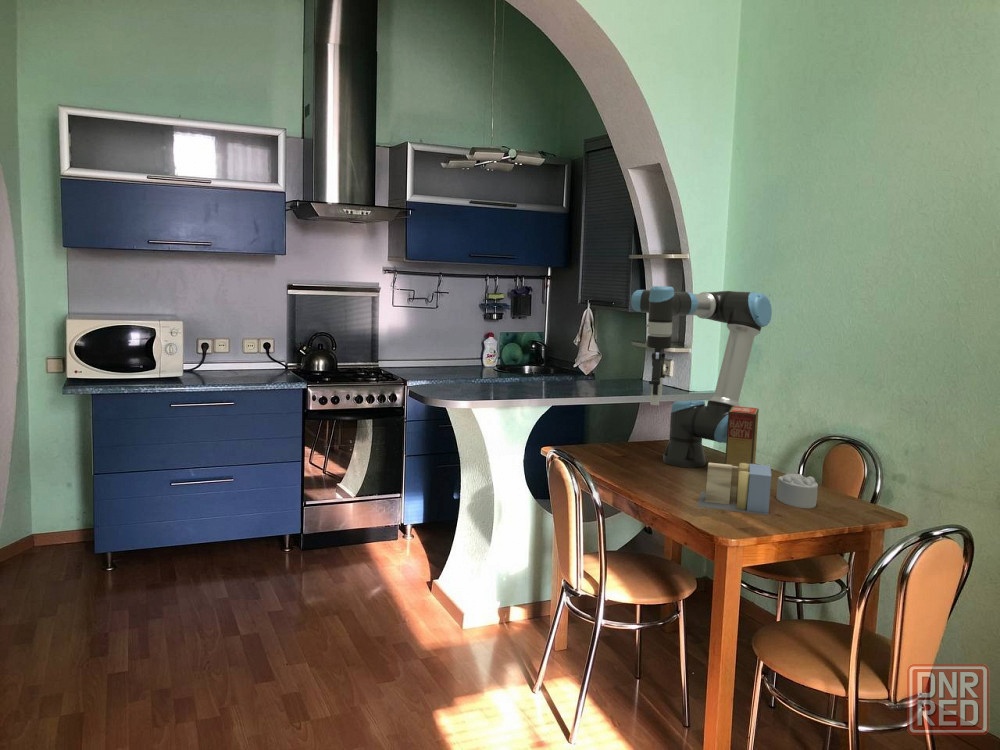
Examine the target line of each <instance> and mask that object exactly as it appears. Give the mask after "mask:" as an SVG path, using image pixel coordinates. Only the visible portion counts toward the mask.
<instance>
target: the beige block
mask: <svg viewBox="0 0 1000 750" xmlns="http://www.w3.org/2000/svg"><path fill="white" fill-rule="evenodd" d="M739 471H748V468H747V467H737V466H732V465H728V464H725V463H716V462H708V464H707V474H706V475H707V476H706V486H705V487H706V489H705V492H706V499H705V502H712V503H721V504H729V503H733V504H737V493H738V481H739Z"/></svg>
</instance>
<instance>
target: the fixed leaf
mask: <svg viewBox="0 0 1000 750" xmlns="http://www.w3.org/2000/svg"><path fill="white" fill-rule="evenodd" d="M739 467H747V468H748V471H739V481H738V493H737V505H736V508H737V509H739V510H747V511H755V512H763V513H768V514H769V511H770V510H769V509H770V498H771V487H772V486H771V485H772V470H771V465H769V464H758V463H755V464H747V463H740V464H739Z"/></svg>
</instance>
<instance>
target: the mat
mask: <svg viewBox="0 0 1000 750" xmlns="http://www.w3.org/2000/svg"><path fill="white" fill-rule="evenodd" d="M705 499H706V491H700V493H699V498H698V501H697V502H698V503H697V507H698V508H704V509H712V510H713V509H714V510H721V511H732V512H739V513H748V514H754V515H755V514H757V515H765V516H769V512H768V513H763V512H755V511H747V510H739V509H737V508H736V505H737V504H733V503H729V504H721V503H712V502H705Z"/></svg>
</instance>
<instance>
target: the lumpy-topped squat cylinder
mask: <svg viewBox="0 0 1000 750" xmlns="http://www.w3.org/2000/svg"><path fill="white" fill-rule="evenodd" d="M818 488H819V484H818V483H817V482H816V478H815V477H813V476H810V475H809V476H807V477H806V476H804V475H802V474H799V473H786V474H784V475H780V476H778V478H777V487H776V496H775V497H776V498H775V499H777V500H778V501H780V503H783V504H785V505H787V506H790V507H794V508H800V509H814V508H816V506H817V499H818V490H819V489H818Z"/></svg>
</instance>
